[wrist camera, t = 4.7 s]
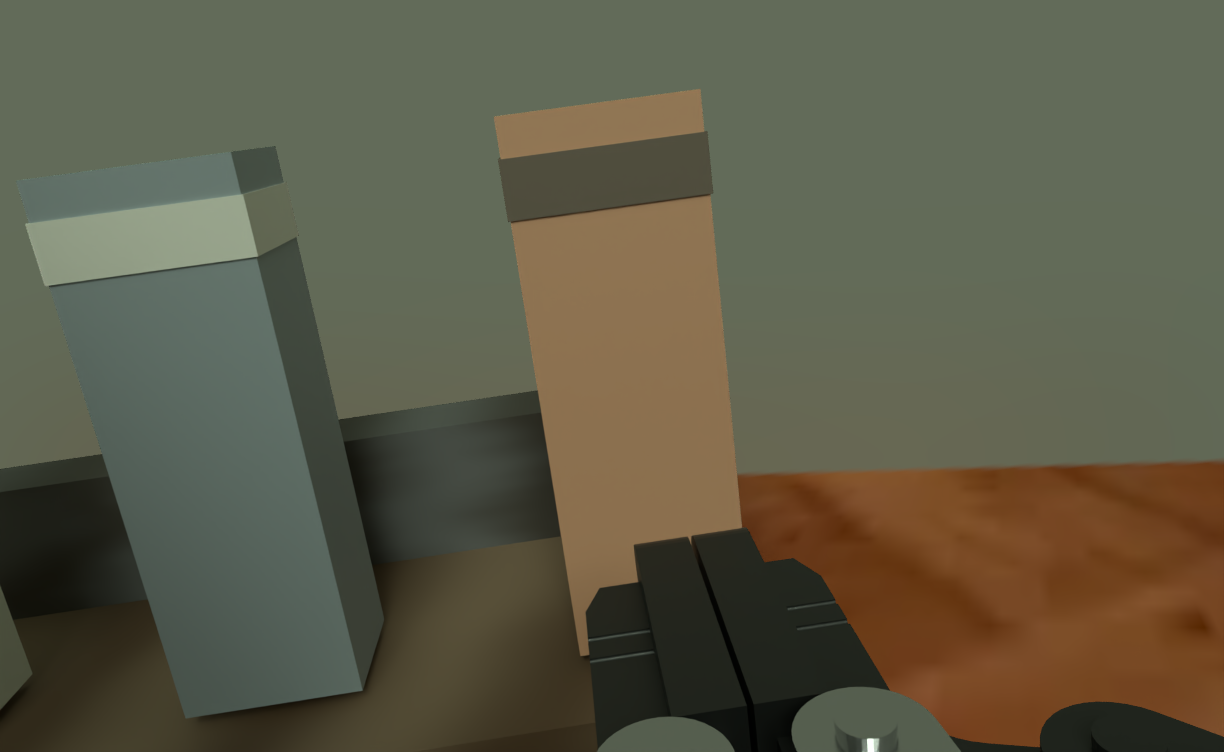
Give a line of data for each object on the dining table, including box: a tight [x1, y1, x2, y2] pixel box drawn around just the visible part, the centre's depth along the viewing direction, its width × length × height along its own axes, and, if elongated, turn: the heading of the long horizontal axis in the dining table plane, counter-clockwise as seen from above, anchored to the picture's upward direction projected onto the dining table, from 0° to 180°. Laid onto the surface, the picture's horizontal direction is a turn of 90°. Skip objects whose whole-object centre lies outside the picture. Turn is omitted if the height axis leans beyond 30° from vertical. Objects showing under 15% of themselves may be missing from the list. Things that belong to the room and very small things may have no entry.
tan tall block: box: [494, 89, 742, 656], centre depth 20 cm, size 4×3×12 cm
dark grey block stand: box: [0, 391, 598, 752], centre depth 23 cm, size 23×11×6 cm, turn 95°
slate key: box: [16, 146, 384, 718], centre depth 20 cm, size 4×3×12 cm
